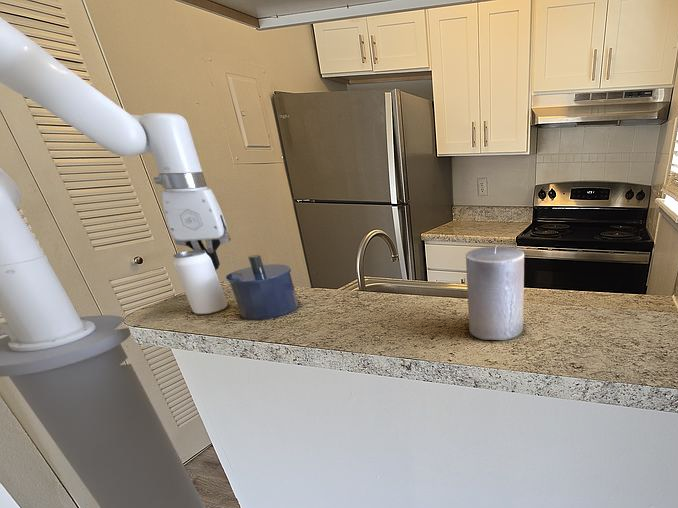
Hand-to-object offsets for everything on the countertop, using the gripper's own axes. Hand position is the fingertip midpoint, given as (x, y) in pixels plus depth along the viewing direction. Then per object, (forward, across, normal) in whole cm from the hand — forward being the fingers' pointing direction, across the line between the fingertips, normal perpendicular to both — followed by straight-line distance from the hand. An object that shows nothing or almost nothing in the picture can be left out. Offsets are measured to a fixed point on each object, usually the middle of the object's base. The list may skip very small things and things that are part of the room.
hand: (212, 269), depth 92 cm
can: (+6, +1, -10) cm, 12 cm away
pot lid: (-2, +14, -15) cm, 20 cm away
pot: (+6, +14, -14) cm, 21 cm away
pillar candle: (+5, +57, -38) cm, 69 cm away
